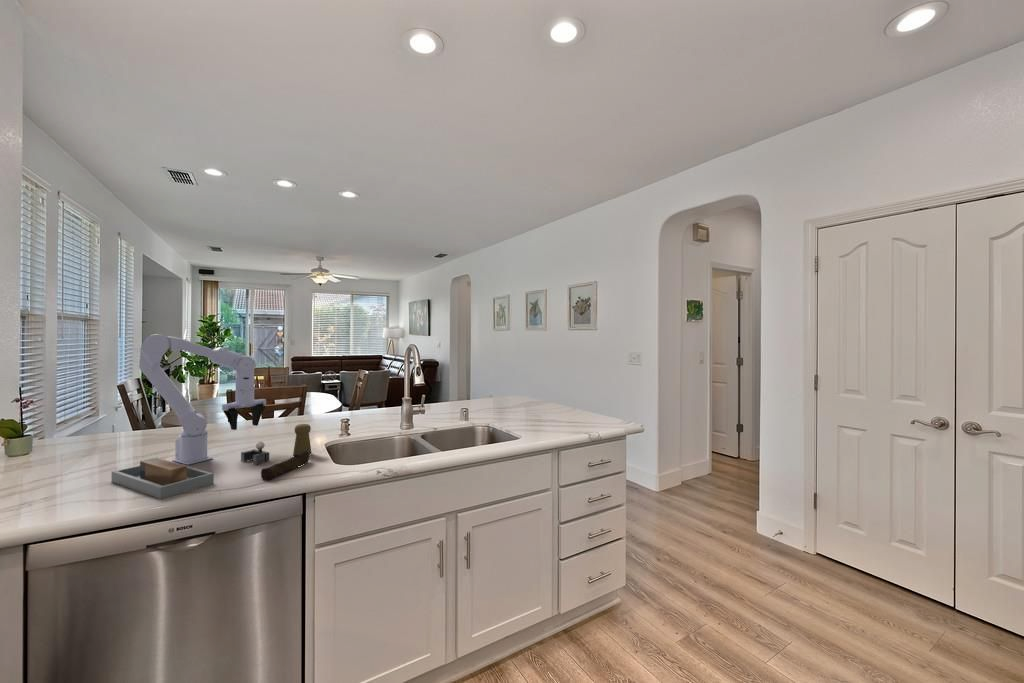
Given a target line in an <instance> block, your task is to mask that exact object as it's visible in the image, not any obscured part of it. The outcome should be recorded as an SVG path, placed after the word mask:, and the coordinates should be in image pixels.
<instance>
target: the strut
mask: <svg viewBox="0 0 1024 683" xmlns="http://www.w3.org/2000/svg"><path fill="white" fill-rule="evenodd" d="M181 464H182V463H179V462H175V461H171V462H170V460H167V459H163V458H159V457H154V458H148V459H144V460H139V465H140V478H141V479H144V480H147V481H150V482H153V483H156V484H160V485H163V486H164V485H168V484H172V483H175V482H179V481H183V480H187V466H188V465H186V464H182V465H181Z"/></svg>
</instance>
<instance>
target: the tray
mask: <svg viewBox="0 0 1024 683" xmlns="http://www.w3.org/2000/svg"><path fill="white" fill-rule="evenodd" d="M169 461H170V460H169ZM170 462H172V460H171V461H170ZM180 464H181V465H183V463H180ZM186 466H187V480H183V481H179V482H175V483H172V484H168V485H164V486H163V485H160V484H156V483H153V482H150V481H147V480H144V479H141V478H140V464H139V465H134V466H130V467H124V468H121V469H117V470H112V471H111V483H113V482H114V484H116V483H117V484H116V485H119V484H120V486H122V487H125V488H128V489H130V488H131V490H134V491H137V492H138V493H139V492H140V493H142V494H145V495H147V496H149V497H153V498H155V499H156V498H157V499H159V500H162V499H165V498H170V497H173V496H176V495H180V494H184V493H186V491H187V492H189V490H190V491H193V490H192V489H194V490H196V489H195V488H197V489H199V488H198V487H200V488H203V487H202V486H204V487H206V486H205V485H207V486H210V485H209V484H211V485H214V484H213V483H215V481H214V478H215V477H214V474H215V473H214V472H210V471H206V470H203V469H199V468H196V467H193V466H189V465H186Z"/></svg>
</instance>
